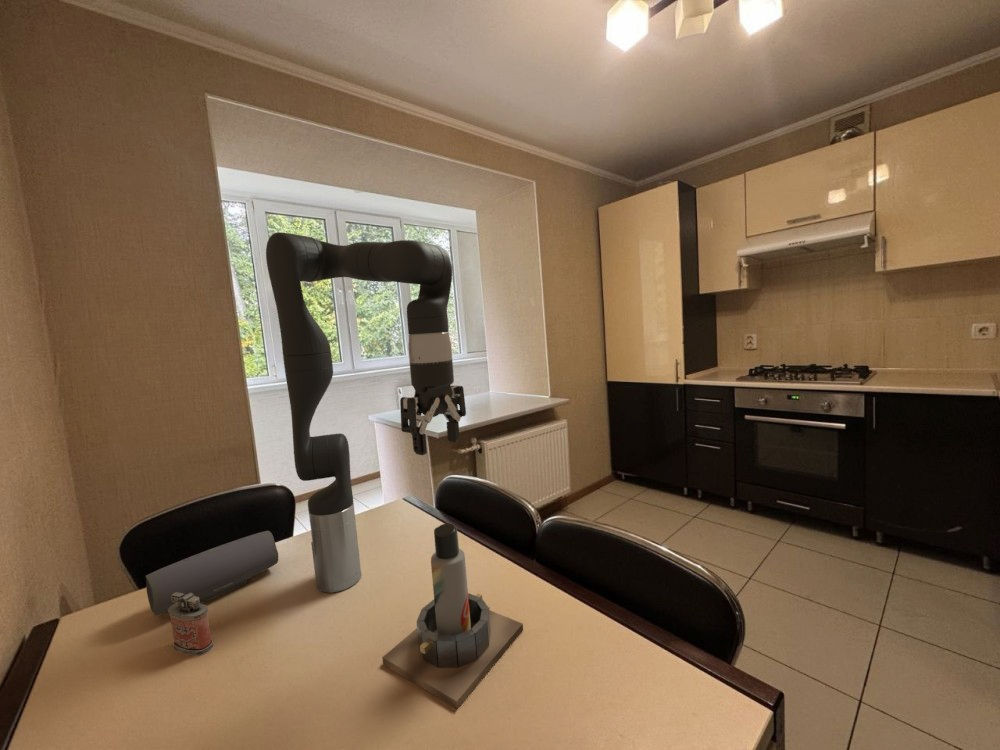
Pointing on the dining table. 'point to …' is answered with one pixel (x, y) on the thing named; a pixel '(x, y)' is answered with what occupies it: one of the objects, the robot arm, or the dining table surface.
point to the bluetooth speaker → (212, 571)
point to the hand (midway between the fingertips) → (438, 447)
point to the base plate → (452, 681)
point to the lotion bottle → (449, 583)
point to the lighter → (190, 624)
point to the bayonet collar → (456, 647)
